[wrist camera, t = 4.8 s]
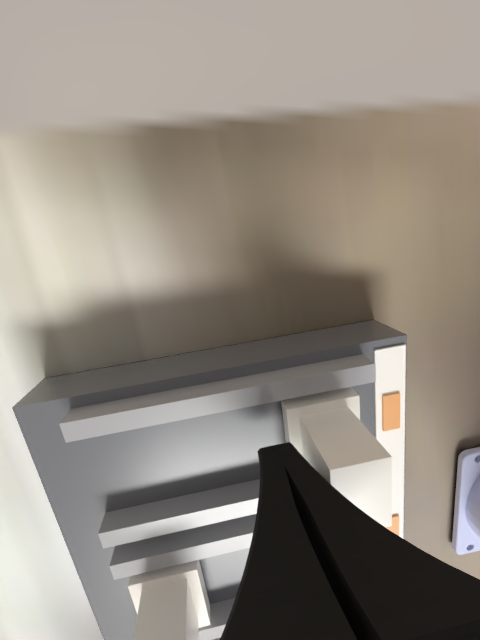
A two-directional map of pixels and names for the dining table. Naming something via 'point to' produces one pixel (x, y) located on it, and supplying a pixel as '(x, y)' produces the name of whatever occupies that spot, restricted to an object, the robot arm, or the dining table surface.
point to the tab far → (170, 602)
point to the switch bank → (193, 454)
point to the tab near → (342, 449)
